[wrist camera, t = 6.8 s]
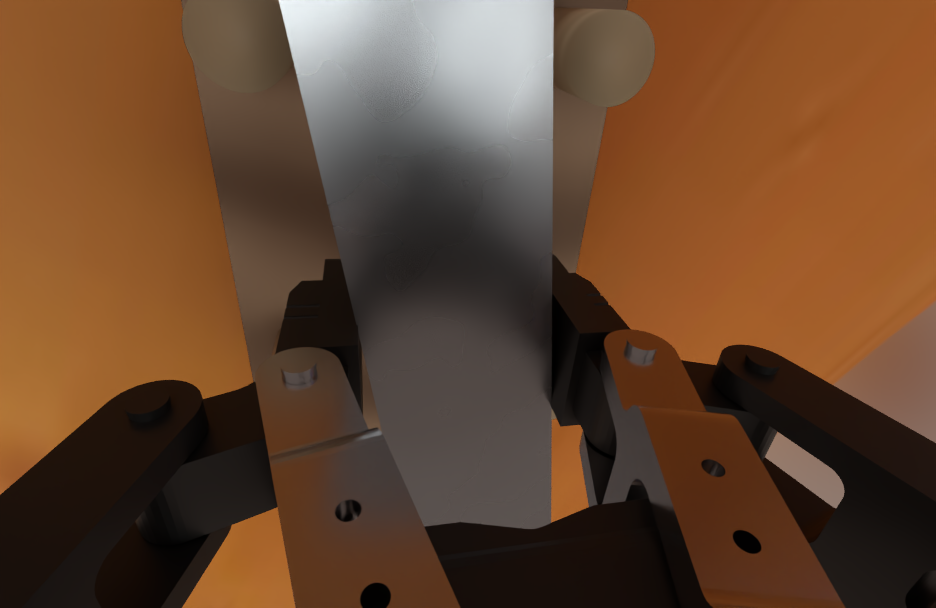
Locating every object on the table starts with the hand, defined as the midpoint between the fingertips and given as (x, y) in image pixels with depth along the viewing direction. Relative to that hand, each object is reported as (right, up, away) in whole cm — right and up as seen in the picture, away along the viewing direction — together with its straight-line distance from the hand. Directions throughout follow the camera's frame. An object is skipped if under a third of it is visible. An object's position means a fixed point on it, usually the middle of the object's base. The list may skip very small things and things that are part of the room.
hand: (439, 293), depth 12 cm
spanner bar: (0, +1, +1) cm, 1 cm away
